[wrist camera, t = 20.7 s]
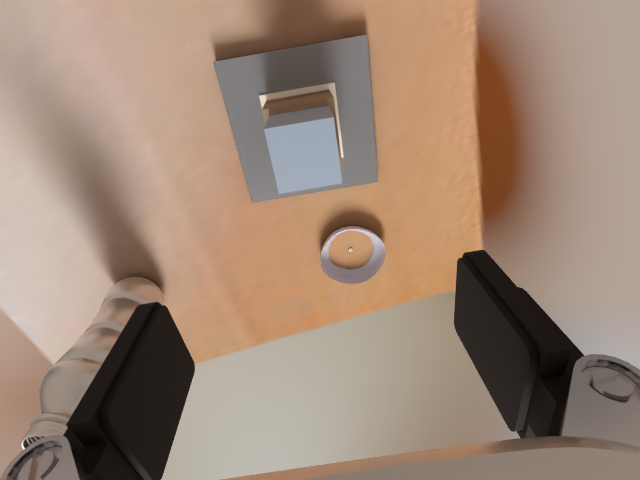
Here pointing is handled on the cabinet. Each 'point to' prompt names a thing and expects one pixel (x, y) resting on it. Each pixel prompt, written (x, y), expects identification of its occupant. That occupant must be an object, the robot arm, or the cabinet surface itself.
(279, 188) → the slate blue cube
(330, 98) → the walnut block
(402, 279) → the cabinet surface
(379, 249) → the lavender ring
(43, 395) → the plastic bottle
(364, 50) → the building board
